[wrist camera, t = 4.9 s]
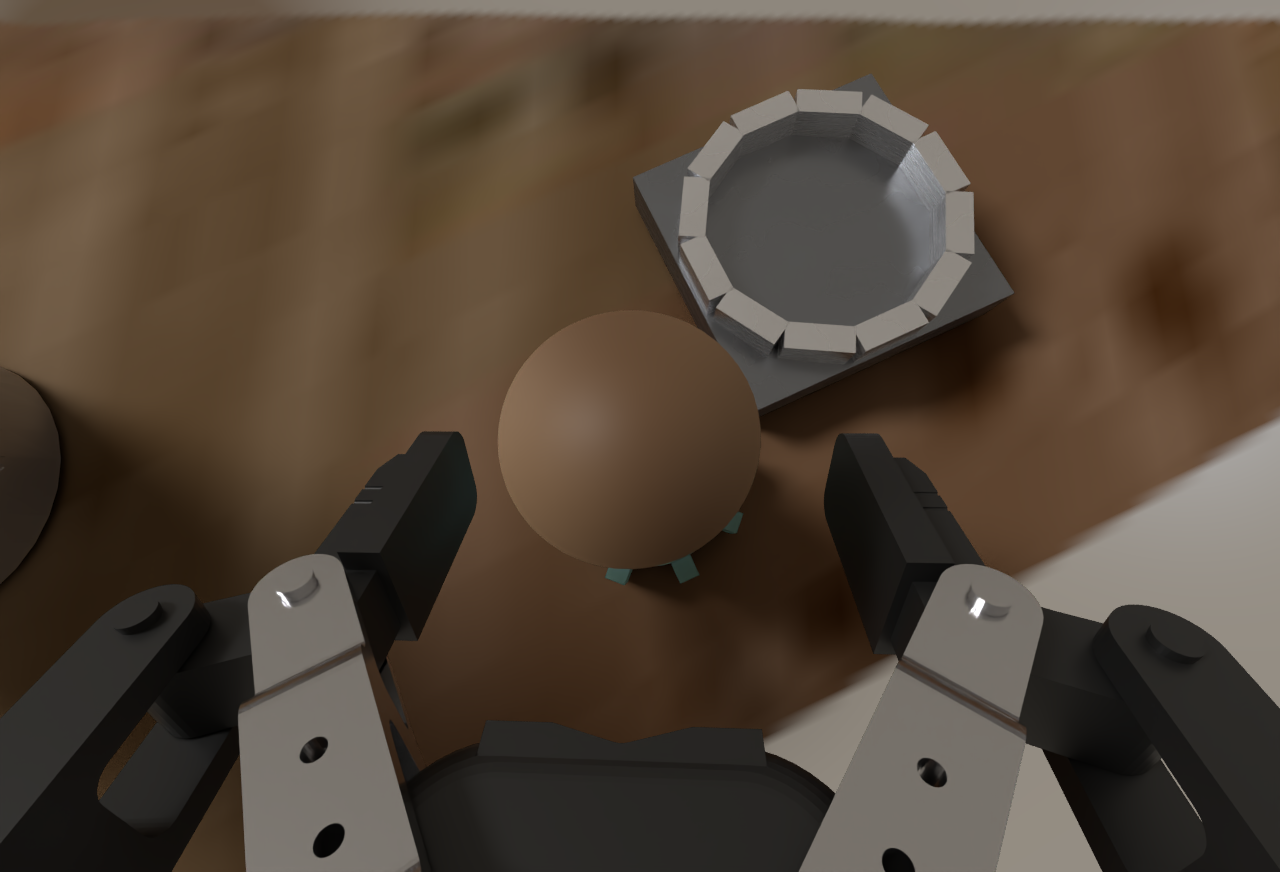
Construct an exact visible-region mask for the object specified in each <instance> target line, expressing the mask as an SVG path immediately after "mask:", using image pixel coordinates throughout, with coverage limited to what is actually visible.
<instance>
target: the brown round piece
mask: <svg viewBox="0 0 1280 872" xmlns="http://www.w3.org/2000/svg"><path fill="white" fill-rule="evenodd" d="M760 448H761V427H760V420H759V413H758V409H757V405H756V402H755V398H754V395H753V393H752V390H751V388H750V386H749V383H748V381H747V379H746V377H745V376H744V374H743V372H742V371H741V369H740V367H739V366H738V364H737V363H736V362H735V361H734V359H733V358H732V357H731V356H730V354H729V353H728V352H727V351H726V350H725V349H724V348H723V347H722V346H721V345H720V344H719V343H718V342H717V341H715V340H714V339H713V338H711V337H710V336H709V335H707V334H706V333H705V332H703V331H702V330H700V329H698V328H696V327H695V326H693V325H691V324H689V323H687V322H685V321H682V320H680V319H677V318H675V317H672V316H668V315H664V314H660V313H656V312H649V311H641V310H622V311H613V312H606V313H602V314H598V315H594V316H590V317H588V318H585V319H582V320H580V321H577V322H575V323H573V324H571V325H569V326H567V327H565V328H563V329H562V330H560V331H559V332H557V333H556V334H554V335H553V336H551V337H550V338H549V339H547V340H546V341H545V342H544V343H543V344H542V345H541V346H540V347H538V348H537V349H536V350H535V351H534V352H533V354H532V355H531V356H530V357H529V358H528V359H527V360H526V362H525V363H524V364H523V366H522V367H521V369H520V370H519V372H518V373H517V375H516V376H515V378H514V380H513V382H512V384H511V386H510V388H509V390H508V393H507V396H506V398H505V401H504V404H503V407H502V412H501V416H500V421H499V431H498V454H499V461H500V466H501V472H502V475H503V478H504V481H505V484H506V488H507V490H508V492H509V494H510V496H511V498H512V500H513V502H514V504H515V506H516V507H517V509H518V510H519V512H520V513H521V515H522V516H523V518H524V519H525V520H526V522H527V523H528V524H529V525H530V526H531V527H532V528H533V530H534V531H535V532H536V533H538V534H539V535H540V536H541V537H542V538H543V539H544V540H546V541H547V542H548V543H549V544H551V545H552V546H554V547H555V548H557V549H558V550H560V551H562V552H563V553H565V554H567V555H569V556H572V557H574V558H576V559H578V560H580V561H584V562H587V563H590V564H593V565H596V566H602V567H608V570H607V573H606V576H605V578H607V579H610V580H612V581H615V582H617V583H620V584H622V585H625V584H626V583H627V582H628V580H629V577H630V575H631V572H632V569H639V568H649V567H654V566H661V565H666V564H670V563H671V564H672V567H673V569H674V571H675V573H676V576H677V578H678V580H679V582H680V584H681V583H683V582H685V581H687V580H689V579H692V578H694V577H696V576H698V575H699V573H698V571H697V569H696V566H695V564H694V562H693V560H692V558H691V555H690V554H691V553H693V552H694V551H696V550H697V549H699V548H701V547H702V546H704V545H705V544H706V543H708V542H709V541H710V540H712V539H713V538H714V537H715V536H716V535H718V534H719V533H720V532H721V531H725V532H727V533H730V534H734V533H737V531H738V528H739V525H740V522H741V519H742V516H743V513H741V512H738V511H739V509H740V507H741V506H742V504H743V502H744V500H745V499H746V497H747V495H748V493H749V491H750V488H751V486H752V483H753V481H754V478H755V474H756V471H757V467H758V463H759V456H760Z"/></svg>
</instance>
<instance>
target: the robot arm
mask: <svg viewBox="0 0 1280 872" xmlns="http://www.w3.org/2000/svg"><path fill="white" fill-rule="evenodd" d="M60 463H61V456H60V446H59V437H58V431H57V429H56V426H55V423H54V420H53V417H52V415H51V412H50V409H49V408H48V406H47V405H46V403H45V402H44V401H43V399H42V398H41V396H40V395H39V393H38V392H37V390H36V389H34V388H33V387H32V386H31V385H30V384H28V383H27V382H26V381H25V380H24V379H23V378H21V377H20V376H19V375H17V374H15V373H13V372H11V371H8V370H6V369H4V368H2V367H0V584H1V583H2V582H3V581H4V580H5V579H6V578H7V577H8V576H9V575H10V574H11V573H12V572H13V571H14V570H15V569H16V568H17V567H18V566H19V564H20V563H21V562H22V560H23V559H24V558H25V556H26V555H27V553H28V552H29V551H30V549H31V548H32V547H33V545H34V544H35V542H36V541H37V539H38V537H39V535H40V533H41V531H42V529H43V527H44V525H45V523H46V521H47V519H48V517H49V515H50V511H51V508H52V505H53V502H54V498H55V495H56V492H57V488H58V482H59V472H60ZM476 503H477V491H476V485H475V481H474V477H473V474H472V470H471V466H470V462H469V458H468V454H467V450H466V447H465V443H464V439H463V437H462V435H461V434H460V433H459V432H422V433H420V434H419V436H418V437H417V438H416V440H415V441H414V443H413V444H412V445H411V447H410V448H409V450H408V451H407V453H406V454H398V455H396V456H395V457H394V458H392V459H391V460H389V461H388V462H387V463H385V464H384V465H382V466H381V467H380V468H378V469H377V470H376V472H375V473H374V474H373V476H372V477H371V479H370V480H369V481H368V483H367V484H366V485H365V489H362V491H361V492H360V493H359V495H358V496H357V497H356V499H355V503H354V504H351V505H350V507H349V508H348V509H347V511H346V512H345V513H344V515H343V516H342V517H341V519H340V520H339V521H338V523H337V524H336V525H335V527H334V528H333V529H332V531H331V532H330V534H329V535H328V536H327V538H326V539H325V540H324V542H323V543H322V544H321V546H320V547H319V548H318V550H317V551H316V552H315V554H312V555H306V556H302V557H299V558H296V559H293V560H290V561H288V562H286V563H284V564H282V565H280V566H278V567H277V568H275V569H274V570H272V571H271V572H269V573H268V574H267V575H266V576H265V577H263V578H262V579H261V580H260V581H259V582H258V583H257V585H256V586H255V587H254V589H253V590H252V592H251V593H247V594H243V595H239V596H234V597H230V598H225V599H221V600H217V601H212V602H208V603H204V604H202V602H201V601H200V600H199V598H198V597H197V596H196V594H195V593H194V592H193V591H192V590H191V588H189V587H187V586H184V585H178V584H171V585H163V586H158V587H154V588H151V589H148V590H145V591H143V592H140V593H138V594H136V595H133V596H131V597H129V598H127V599H126V600H124V601H122V602H120V603H119V604H117V605H116V606H114V607H113V608H111V609H110V610H109V611H107V612H106V613H105V614H104V615H102V616H101V617H100V618H99V619H98V620H97V621H96V622H95V623H94V624H93V625H92V626H91V627H90V628H89V629H88V630H87V631H86V632H85V633H84V634H83V635H82V636H81V637H80V638H79V639H78V640H77V641H76V642H75V643H74V644H73V645H72V646H71V647H70V648H69V649H68V650H67V651H66V652H65V653H64V655H63V656H62V657H61V658H60V659H59V660H58V661H57V662H56V663H55V664H54V665H53V666H52V667H51V668H50V669H49V670H48V671H47V672H46V673H45V674H44V675H43V676H42V677H41V678H40V679H39V680H38V681H37V682H36V683H35V684H34V685H33V686H32V687H31V688H30V689H29V690H28V691H27V692H26V693H25V694H24V695H23V696H22V697H21V698H20V699H19V700H18V701H17V702H16V703H15V704H14V705H13V706H12V707H11V708H10V709H9V710H8V711H7V712H6V713H5V714H4V715H3V716H2V717H1V719H0V872H172V870H173V868H174V866H175V865H176V863H177V861H178V859H179V858H180V856H181V854H182V853H183V851H184V849H185V847H186V846H187V844H188V842H189V840H190V839H191V837H192V835H193V834H194V832H195V830H196V828H197V827H198V825H199V823H200V821H201V820H202V818H203V816H204V815H205V813H206V811H207V809H208V808H209V806H210V804H211V802H212V801H213V799H214V797H215V796H216V794H217V792H218V790H219V789H220V787H221V785H222V783H223V782H224V780H225V778H226V777H227V775H228V773H229V771H230V770H231V768H232V766H233V764H234V763H235V761H236V759H237V758H238V756H239V754H240V764H241V783H242V802H243V821H244V840H245V859H246V872H995V871H996V867H997V862H998V858H999V854H1000V850H1001V846H1002V841H1003V837H1004V832H1005V828H1006V824H1007V820H1008V816H1009V811H1010V807H1011V803H1012V798H1013V794H1014V790H1015V785H1016V781H1017V777H1018V773H1019V768H1020V764H1021V760H1022V755H1023V751H1024V747H1025V743H1026V744H1029V745H1032V746H1035V747H1038V748H1041V749H1042V750H1043V752H1044V754H1045V756H1046V758H1047V760H1048V762H1049V764H1050V766H1051V768H1052V770H1053V772H1054V774H1055V776H1056V778H1057V780H1058V782H1059V785H1060V787H1061V789H1062V791H1063V793H1064V794H1065V797H1066V799H1067V801H1068V803H1069V805H1070V807H1071V809H1072V811H1073V813H1074V815H1075V817H1076V819H1077V821H1078V823H1079V825H1080V827H1081V829H1082V831H1083V833H1084V835H1085V837H1086V839H1087V841H1088V843H1089V845H1090V847H1091V849H1092V851H1093V853H1094V856H1095V857H1096V860H1097V861H1098V864H1099V866H1100V868H1101V869H1102V871H1103V872H1280V708H1279V707H1278V706H1277V705H1276V704H1275V703H1274V702H1273V701H1272V700H1271V698H1270V697H1269V696H1268V695H1267V694H1266V693H1265V692H1264V691H1263V690H1262V688H1261V687H1260V686H1259V685H1258V684H1257V683H1256V682H1255V681H1254V679H1253V678H1252V677H1251V676H1250V675H1249V674H1248V673H1247V672H1246V671H1245V669H1244V668H1243V667H1242V666H1241V665H1240V664H1239V663H1238V662H1237V661H1236V660H1235V658H1234V657H1233V656H1232V655H1231V654H1230V653H1229V652H1228V651H1227V649H1226V648H1224V646H1223V645H1222V644H1221V643H1220V642H1218V641H1217V640H1216V639H1215V638H1214V637H1212V636H1211V635H1210V634H1208V633H1207V632H1206V631H1204V630H1203V629H1201V628H1200V627H1198V626H1196V625H1195V624H1193V623H1191V622H1190V621H1187V620H1186V619H1184V618H1182V617H1180V616H1177V615H1175V614H1173V613H1170V612H1168V611H1164V610H1161V609H1158V608H1154V607H1150V606H1143V605H1125V606H1121V607H1118V608H1116V609H1115V610H1114V611H1113V612H1112V613H1111V614H1110V615H1109V617H1108V618H1107V619H1106V621H1105V622H1104V623H1099V622H1096V621H1092V620H1088V619H1084V618H1080V617H1076V616H1072V615H1068V614H1064V613H1061V612H1057V611H1053V610H1049V609H1046V608H1043V607H1040V604H1039V603H1038V601H1037V600H1036V598H1035V597H1034V596H1033V595H1032V593H1031V592H1030V591H1029V590H1028V589H1027V588H1025V587H1024V586H1023V585H1022V584H1021V583H1019V582H1018V581H1016V580H1015V579H1013V578H1012V577H1010V576H1008V575H1006V574H1004V573H1002V572H1000V571H998V570H995V569H992V568H989V567H986V566H985V565H984V563H983V562H982V560H981V559H980V557H979V556H978V554H977V552H976V551H975V549H974V548H973V546H972V545H971V543H970V542H969V540H968V538H967V537H966V535H965V534H964V532H963V531H962V529H961V528H960V526H959V524H958V523H957V521H956V520H955V518H954V517H953V515H952V514H951V512H950V511H947V506H946V504H945V503H944V501H943V500H942V498H941V497H940V496H938V495H937V490H936V489H935V487H934V486H933V484H932V483H931V481H930V479H929V478H928V476H927V475H926V473H924V472H923V471H922V470H920V469H919V468H918V467H916V466H915V465H914V464H913V463H911V462H910V461H909V460H907V459H906V458H893V456H892V454H891V453H890V451H889V449H888V447H887V446H886V444H885V442H884V441H883V439H882V437H881V436H880V435H879V434H839V435H838V437H837V439H836V442H835V446H834V451H833V455H832V460H831V465H830V469H829V474H828V478H827V483H826V488H825V494H824V509H825V516H826V520H827V523H828V526H829V529H830V531H831V534H832V537H833V540H834V543H835V546H836V549H837V551H838V554H839V557H840V560H841V563H842V566H843V568H844V571H845V574H846V577H847V580H848V583H849V585H850V588H851V591H852V594H853V597H854V600H855V602H856V605H857V608H858V611H859V614H860V617H861V619H862V622H863V625H864V628H865V631H866V634H867V637H868V639H869V642H870V645H871V648H872V651H873V654H896V655H897V658H898V661H899V662H898V664H897V666H896V668H895V670H894V672H893V674H892V676H891V678H890V680H889V683H888V685H887V687H886V689H885V691H884V693H883V695H882V697H881V700H880V702H879V704H878V706H877V708H876V710H875V712H874V714H873V716H872V718H871V721H870V723H869V725H868V727H867V729H866V731H865V733H864V735H863V737H862V740H861V742H860V744H859V746H858V748H857V750H856V752H855V754H854V756H853V758H852V761H851V763H850V765H849V767H848V769H847V771H846V773H845V775H844V777H843V779H842V782H841V784H840V786H839V788H838V790H837V792H836V794H835V793H834V792H833V791H832V790H831V789H830V788H829V787H828V786H826V785H825V784H824V783H823V782H821V781H820V780H819V779H817V778H816V777H815V776H813V775H812V774H811V773H809V772H807V771H806V770H804V769H802V768H801V767H799V766H797V765H796V764H794V763H792V762H790V761H787V760H785V759H783V758H781V757H779V756H777V755H774V754H770V753H767V752H765V749H764V742H763V735H762V729H736V728H705V727H691V728H687V729H683V730H678V731H674V732H670V733H666V734H662V735H658V736H653V737H649V738H645V739H641V740H637V741H633V742H628V743H616V742H612V741H609V740H605V739H602V738H599V737H596V736H593V735H590V734H587V733H584V732H581V731H577V730H574V729H571V728H568V727H565V726H562V725H559V724H556V723H553V722H522V721H492V720H486V723H485V727H484V730H483V734H482V737H481V741H480V743H477V744H473V745H471V746H468V747H465V748H463V749H460V750H457V751H455V752H453V753H451V754H449V755H447V756H445V757H443V758H441V759H439V760H437V761H435V762H434V763H432V764H431V765H429V766H428V767H426V764H425V762H424V760H423V757H422V755H421V753H420V750H419V747H418V745H417V742H416V739H415V736H414V733H413V730H412V727H411V724H410V721H409V718H408V715H407V712H406V709H405V706H404V703H403V699H402V696H401V693H400V690H399V687H398V684H397V681H396V678H395V675H394V672H393V669H392V666H391V663H390V661H389V658H388V656H387V654H388V652H389V650H390V648H391V646H392V644H393V642H394V640H406V641H418V639H419V636H420V634H421V632H422V630H423V627H424V625H425V623H426V621H427V619H428V616H429V614H430V612H431V610H432V607H433V605H434V603H435V601H436V598H437V596H438V594H439V592H440V589H441V587H442V585H443V583H444V581H445V578H446V576H447V574H448V572H449V569H450V567H451V565H452V563H453V560H454V558H455V556H456V554H457V552H458V549H459V547H460V545H461V543H462V540H463V538H464V536H465V534H466V531H467V529H468V527H469V525H470V523H471V520H472V518H473V516H474V513H475V509H476ZM146 712H148V713H149V714H150V715H151V716H152V717H153V718H154V719H155V720H156V721H157V723H156V724H155V726H154V727H153V728H152V730H151V731H150V732H149V734H148V735H147V736H146V738H145V739H144V741H143V742H142V743H141V745H140V746H139V747H138V749H137V750H136V751H135V753H134V754H133V755H132V757H131V758H130V760H129V761H128V762H127V764H126V765H125V766H124V768H123V769H122V770H121V772H120V773H119V775H118V776H117V777H116V779H115V780H114V781H113V783H112V784H111V785H110V787H109V788H108V789H107V791H106V792H105V794H104V795H103V796H102V798H101V799H100V800H98V797H97V787H98V782H99V778H100V776H101V774H102V772H103V770H104V768H105V766H106V765H107V763H108V762H109V761H110V759H111V758H112V757H113V755H114V754H115V753H116V751H117V750H118V749H119V747H120V746H121V745H122V744H123V742H124V741H125V740H126V738H127V737H128V736H129V734H130V733H131V732H132V730H133V729H134V728H135V727H136V725H137V724H138V723H139V721H140V720H141V719H142V717H143V716H144V715H145V713H146ZM1161 758H1162V759H1163V760H1164V762H1165V763H1166V765H1167V766H1168V768H1169V769H1170V771H1171V772H1172V774H1173V775H1174V777H1175V778H1176V780H1177V782H1178V783H1179V785H1180V786H1181V788H1182V789H1183V791H1184V792H1185V794H1186V795H1187V797H1188V798H1189V799H1190V801H1191V802H1192V804H1193V806H1194V807H1195V809H1196V810H1197V812H1198V814H1199V816H1200V818H1201V820H1202V822H1201V820H1200V819H1199V817H1198V816H1197V814H1196V813H1195V811H1194V809H1193V808H1192V806H1191V805H1190V803H1189V802H1188V800H1187V799H1186V797H1185V796H1184V794H1183V793H1182V791H1181V790H1180V788H1179V787H1178V785H1177V784H1176V782H1175V781H1174V779H1173V778H1172V776H1171V775H1170V773H1169V772H1168V771H1167V769H1166V767H1165V765H1164V764H1163V762H1162V761H1161Z"/></svg>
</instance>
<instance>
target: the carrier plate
mask: <svg viewBox="0 0 1280 872" xmlns="http://www.w3.org/2000/svg"><path fill="white" fill-rule="evenodd" d="M927 127H928V124H926V123H924V122H922V121H920V120H919V119H917V118H915V117H913V116H911V115H909V114H907V113H905V112H904V111H902V110H900V109H898V108H896V107H894V106H892V105H891V103H890V101H889V100H888V98H887V97H886V95H885V94H884V92H883V91H882V89H881V88H880V86H879V85H878V83H877V82H876V80H875V78H874V77H873V75H872V74H869V75H867V76H864V77H862V78H860V79H857V80H855V81H853V82H851V83H848V84H846V85H844V86H841V87H839V88H837V89H834V90H832V91H830V90H806V89H797V92H796V96H795V99H794V100H793V98H792V96H791V95H790V93H789V91H787V92H784V93H782V94H780V95H777V96H775V97H773V98H770V99H768V100H766V101H764V102H761V103H759V104H757V105H754V106H752V107H750V108H747V109H745V110H743V111H741V112H738V113H736V114H734V115H731V118H730V124H728V123H726V122H724V121H723V123H722V124H721V125H720V127H719V128H718V129H717V131H716V132H715V133H714V134H713V136H712V137H711V138H710V140H709V141H708V142H707V144H706V145H705V146H704V147H702V148H699V149H697V150H695V151H692V152H690V153H688V154H686V155H683V156H681V157H679V158H676V159H674V160H672V161H670V162H667V163H665V164H663V165H660V166H658V167H656V168H653V169H651V170H649V171H647V172H644V173H642V174H640V175H637V176H635V177H633V183H634V193H635V204H636V207H637V209H638V211H639V213H640V215H641V217H642V219H643V221H644V223H645V225H646V227H647V229H648V231H649V233H650V235H651V237H652V239H653V241H654V242H655V244H656V246H657V248H658V250H659V252H660V254H661V256H662V258H663V260H664V262H665V264H666V266H667V268H668V270H669V272H670V274H671V276H672V278H673V280H674V282H675V284H676V286H677V288H678V290H679V292H680V294H681V296H682V298H683V300H684V302H685V304H686V305H687V307H688V309H689V311H690V313H691V315H692V317H693V319H694V321H695V323H696V325H697V327H698V329H700V330H702V331H703V332H705V333H706V334H707V335H709V336H710V337H711V338H713V339H714V340H715V341H717V342H718V343H719V344H720V345H721V346H722V347H723V348H724V349H725V350H726V351H727V352H728V353H729V354H730V356H731V357H732V358H733V359H734V361H735V362H736V363H737V364H738V366H739V367H740V369H741V371H742V372H743V374H744V376H745V377H746V379H747V381H748V383H749V386H750V388H751V390H752V393H753V395H754V398H755V402H756V405H757V409H758V413H759V417H760V416H762V415H764V414H766V413H769V412H771V411H773V410H775V409H777V408H780V407H782V406H784V405H786V404H788V403H791V402H793V401H795V400H797V399H799V398H801V397H804V396H806V395H808V394H810V393H812V392H815V391H817V390H819V389H821V388H823V387H826V386H828V385H830V384H832V383H834V382H837V381H839V380H841V379H843V378H845V377H847V376H850V375H852V374H854V373H856V372H858V371H861V370H863V369H865V368H867V367H869V366H872V365H874V364H876V363H878V362H880V361H883V360H885V359H887V358H889V357H891V356H893V355H896V354H898V353H900V352H902V351H904V350H907V349H909V348H911V347H913V346H915V345H918V344H920V343H922V342H924V341H926V340H929V339H931V338H933V337H935V336H937V335H939V334H942V333H944V332H946V331H948V330H950V329H953V328H955V327H957V326H959V325H961V324H964V323H966V322H968V321H970V320H972V319H974V318H977V317H979V316H981V315H983V314H985V313H987V312H988V311H990V310H991V309H993V308H994V307H995V306H997V305H998V304H1000V303H1001V302H1002V301H1004V300H1005V299H1007V298H1008V297H1010V296H1011V295H1012V294H1014V292H1013V290H1012V289H1011V287H1010V285H1009V284H1008V282H1007V281H1006V279H1005V278H1004V276H1003V275H1002V273H1001V272H1000V270H999V269H998V267H997V266H996V264H995V262H994V261H993V259H992V258H991V256H990V255H989V253H988V252H987V250H986V249H985V247H984V246H983V244H982V243H981V241H980V239H979V238H978V236H977V235H976V233H975V232H974V198H973V192H964V191H965V189H966V188H967V187H968V186H969V185H970V184H971V183H970V182H969V180H968V179H967V177H966V176H965V174H964V173H963V171H962V170H961V168H960V167H959V165H958V164H957V162H956V161H955V159H954V158H953V156H952V155H951V153H950V152H949V150H948V149H947V147H946V146H945V144H944V143H943V141H942V140H941V138H940V137H939V135H938V134H937V132H936V131H935V132H933V133H931V134H928V135H926V136H924V137H922V138H921V136H922V135H923V133H924V132H925V130H926V129H927Z"/></svg>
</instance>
